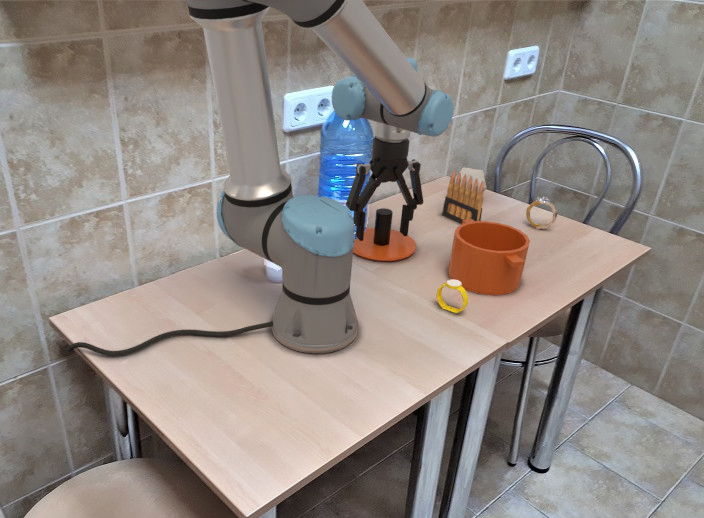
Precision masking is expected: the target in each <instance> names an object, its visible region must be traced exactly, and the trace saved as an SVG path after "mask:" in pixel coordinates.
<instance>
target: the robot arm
mask: <svg viewBox="0 0 704 518" xmlns="http://www.w3.org/2000/svg"><path fill="white" fill-rule="evenodd" d="M186 3H187V9H188V13H189V17H190V18H191V20H193V21H194V22H195V23H197V24H198V25H199V26H200V27H201V28H202V31H203V36H204V41H205V47H206V51H207V57H208V63H209V68H210V73H211V79H212V85H213V90H214V96H215V102H216V106H217V111H218V117H219V122H220V127H221V133H222V139H223V145H224V148H225V149H224V150H225V155H226V161H227V167H228V170H229V176H228V177H227V178H226V179H225V181H224V183H223V190H222V191H221V193H220V195H219V198H220V200H219V201H217V203H216V219H217V223H218V226H219V228H220V230H221V232H222V233H223V235H224V236H225V237H227V239H229V240H231V241H232V242H233V243H234V244H235V245H237V246H238V247H240V248H242V249H245V250H247V251H249V252H251V253H253V254H254V255H257V256H258V257H260V258H262V259H264V260H266V261H269V262H271V263H273V264H274V265H276V266H278V267H280V268H281V271H282V273H281V274H282V275H281V276H282V277H281V279H282V280H281V281H282V288H281V294H279V295H280V296H279V298H278V301H277V303H276V306H275V309H274V310H273V311H274V312H273V314H272V317H271V321H267V322H262V323H257V324H252V325H249V326H244V327H241V328H238V329H232V330H225V331H223V330H222V331H215V330H213V331H212V330H203V329H202V330H201V329H176V330H170V331H167V332H162V333H161V334H157V335H156V336H153V337H151V338H149V339H147V340H145V341H144V342H141V343H139V344H137V345H135V346H131V347H129V348H125V349H119V350H110V349H109V350H108V349H104V348H101V347H98V346H96V345H93V344H91V343H88V342H84V341H78V342H74V343H72V344H70V345H68V346H67V347H66V349H65V352H72V351H73V350H75V349H77V348H81V349H86V350H89V351H92V352H94V353H97V354H99V355H102V356H107V357H121V356H127V355H130V354H133V353H136V352H139V351H141V350H143V349H145V348H147V347H149V346H151V345H153V344H154V343H157V342H159V341H161V340H164V339H167V338H171V337H175V336H184V335H185V336H187V335H188V336H189V335H191V336H192V335H193V336H203V337H215V338H216V337H219V338H221V337H232V336H238V335H241V334H245V333H248V332H253V331H257V330H262V329H267V328H271V332H272V335H273V336H274V338H275V339H276V341H277V342H279V343H280V344H281V345H283V346H284V347H286V348H288V349H290V350H292V351H296V352H299V353H305V354H328V353H333V352H337V351H340V350H342V349H344V348H346V347H348V346H349V345H350V344H352V342H354V341H355V339H356V338H357V335H358V326H359V320H358V316H357V313H356V310H355V306H354V303H353V299H352V296H351V280H352V270H353V268H352V267H353V257H354V252H353V248H354V242H355V234H354V232H355V231H356V237H357V238H358V239H359V240H360V241H363V238H364V229H365V226H366V225H365V224H366V212H365V211H364V209H365V208H366V207H367V204H368V203H369V202H370V200H371V198H372V196H373V195H374V193H375V192H376V189H377V188H379V187H380V186H381V184H384V183H388V182H389V183H396V184H397V187H398V189H399V191H400V193H401V195H402V197H403V200H405V204H402V207H401V217H400V223H399V232H401V233H402V234H403V235H404V236H409V227H410V222H412V221H413V219H414V215H415V214H414V212H415V210H417V208H418V205H419V206H421V205H423V204H424V195H423V189H422V182H421V175H420V171H421V166H422V164H421V163H420V162H419V161H418V160H416V159H414V158H413V159H411V160H408V156H409V149H410V139H409V138H410V137H411V132H412V133H414V134H417V135H418V136H422V135H423V136H427V137H433V138H435V137H439V136H441V135H442V134H444V132H446V131H447V129H448V128H449V125H450V123H451V122H452V119H453V115H454V100H453V98H452V97H451V96H450V94H448V93H446V92H444V91H440V89H432V88H431V87H429V85H428V84H427V83H426V82H425V81H424V79H423V78H422V77H421V76H420V74H419V72H418V61H417V60H416V59H414V58H412V57H408V56H405V54H404V53H403V52H402V51H401V50H400V48H399V47H398V45H397V44H396V43H395V41H394V40H393V39H392V38H391V36H390V35H389V34H388V33H387V31H386V29H384V27H383V26H382V24H381V23H380V22H379V21H378V20H377V18H376V17H375V15H374V14H373V12H372V11H371V10H370V9H369V7H368V6H367V5H366V3H365V2H364V1H363V0H186ZM271 8H272V9H275V10H277V11H279V12H281V13H283V14H284V15H286V16H287V17H289V18H290V19H291V21H292V22H293V23H294V24H295V25H296V26H298V28H301V29H304V30H312V31H313V32H314V34H316V36H317V37H318V38H319V39H320V40H321V41H322V42H323V43H324V44H325V45H326V46H327V47H328V48H329V50H331V51H332V53H333V54H334V55H335V56H336V57H337V58H338V59H339V60H340V61H341V63H342V64H344V66H345V67H346V68H347V69H349V71H350V72H351V73H352V75H350V76H348V77H344V78H342V79H339V80H338V81H337V82H336V83H335V84H334V85H333V88H332V91H331V105H332V109H333V110H334V113H335V114H336V116H338V117H339V118H340V119H342V120H344V121H357V120H360V119H366V120H369V121H373V132H372V133H373V136H374V137H373V138H372V148H371V159H370V161H369V163H364V164H363V163H360V162H358V163H356V166H355V176H354V179H353V182H352V185H351V188H350V190H349V193H348V197H347V199H346V201H345V205H344V204H342V203H341V202H340V201H338V200H336V199H333V198H331V197H328V196H326V195H325V196H324V195H322V196H318V195H317V194H300V195H296V196H294V194H293V186H292V178H291V176H290V174H289V172H287V171H286V170H284V169H282V167H281V161H280V154H279V153H280V152H279V146H278V138H277V137H278V136H277V130H276V123H275V116H274V106H273V99H272V91H271V84H270V76H269V68H268V60H267V52H266V44H265V36H264V29H263V19H264V17H265V16H266V14H267V13H268V12H269V10H270V9H271ZM407 170H408V171H409V177H410V183H411V188H412V189H411V190H412V194H411V191H410V189H409V187H408V184H407V181H406V179H405V177H404V175H403V174H404V172H406V171H407ZM370 171H371V174H370V176H369V178H368V181H367V183H366V185H365V186H364V183H365V181H366V176H367V175H368V174H369V172H370ZM362 189H363V190H362ZM352 212H353V213H352ZM352 214H353V215H352ZM355 227H356V230H355Z"/></svg>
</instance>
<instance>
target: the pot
mask: <svg viewBox="0 0 704 518" xmlns="http://www.w3.org/2000/svg"><path fill="white" fill-rule="evenodd" d="M530 244H531V240H530V238H529V236H528V235H527V234H526V233H524V232H523V231H522V230H520V229H518V228H516V227H513V226H511V225H508V224H505V223H500V222H496V221H487V220H481V221H474V220H473V219H468V220H462V224H460V225H458V226H457V227H456V228H455V230H454V235H453V239H452V246H451V252H450V259H449V264H448V268H447V269H448V270H447V271H448V278H449V280H451V279H454V280H458V281H460V282H461V283H462V285H461V286H462V287H463V288H464V289H465V290H466V291H469V292H472V293H476V294H480V295H486V296H503V295H508V294H511V293H513V292H515V291H516V290H518V288H519V287H520V284H521V281H522V277H523V273H524V268H525V264H526V260H527V256H528V251H529V248H530Z"/></svg>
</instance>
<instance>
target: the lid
mask: <svg viewBox="0 0 704 518" xmlns="http://www.w3.org/2000/svg"><path fill="white" fill-rule="evenodd" d="M393 213H394V212H393V210H392V209H389V208H385V207H384V208H383V207H382V208H377V209H376V210H375V220H374V227H368V228H364V229H365V232H364V238H363V241H360V240H359V239H358V238H357V239H355V242H354V248H353V254H356V255H357V256H360V257H362V258H364V259H365V258H366V259H369V260H373V261H381V262H382V261H384V262H391V261H398V260H403V259H406V258H408V257H410V256H412V255H413V254H414V253H415V252H416V250H417V243H416V241H415V240H414V239H413V238H412V236H410V235H408V236H404V235H403V234H402V233H401V232H400V230H395V229H392V223H393Z"/></svg>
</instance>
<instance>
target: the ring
mask: <svg viewBox="0 0 704 518" xmlns="http://www.w3.org/2000/svg"><path fill="white" fill-rule="evenodd" d="M551 201H552V199H549V198H548V196H542V197H539V196H537V197H536V199H535V200H533V201H532V202H531V203H530V204H529V206H527V207H526V210H525V215H526V219H527V222H528V223H529V224H530V225H531V226H532V227H534V228H535V229H536V230H539V229H547V228H549V227H551V226H552V225H554V223H555V222H556V220H557V217H558V210H557V208H556V206H555V204H554V203H552V202H551ZM540 205H546V206H547V207H549V208H550V209H551V212H552V219H551V221H550V222H548V223H547V224H541V223H536V222H535V221H534V220H533V219H532V217H531V209H532V208H533V207H535V206H540Z"/></svg>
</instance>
